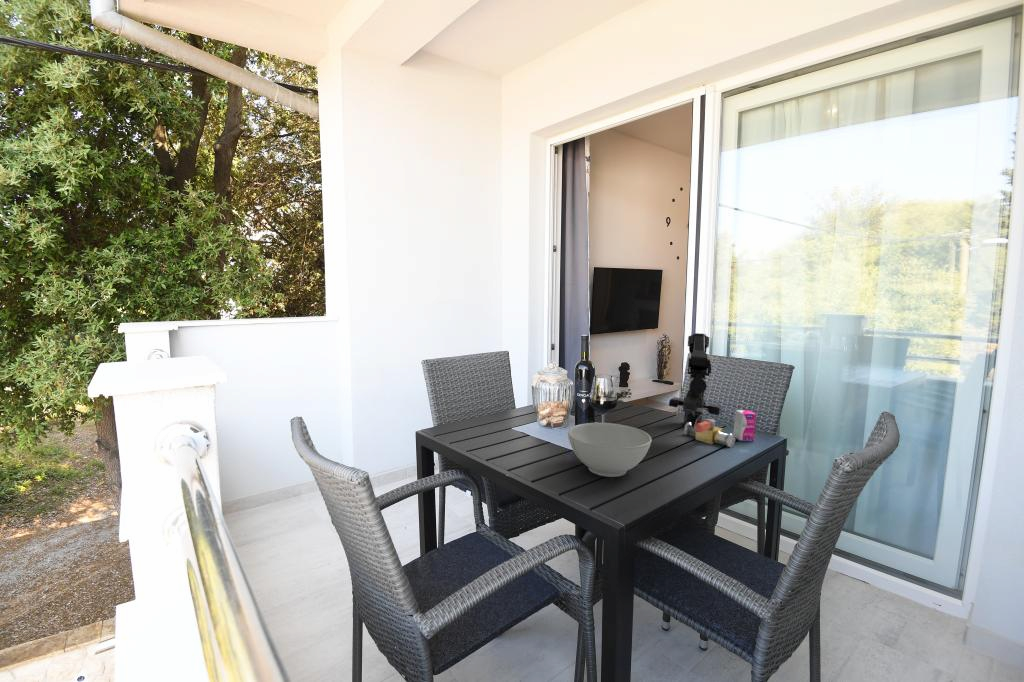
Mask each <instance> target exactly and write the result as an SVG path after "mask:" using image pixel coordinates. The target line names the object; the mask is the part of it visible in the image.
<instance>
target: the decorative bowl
mask: <svg viewBox="0 0 1024 682" xmlns="http://www.w3.org/2000/svg"><path fill="white" fill-rule="evenodd" d="M567 438H568V440H569V445H570V447H571V448H572V451H573V453H574V454H575V455H576V457H577V459H579V461H580V462H581V463H582V464H584V466H586V467H588V470H589V471H590V472H591V473H593V474H595V475H597V476H601V477H606V478H607V477H609V478H613V477H614V478H616V477H623V476H624V475H626V473H627V471H629V470H631V469H633V468H634V467H636V466H637V465H638V464H639V463H641V461H643V459H644V458H645V456H646V455H647V453H648V451H649V449H650V447H651V445H652V437H651V435H650V434H649V433H648V432H646V431H644V430H642V429H639V428H637V427H634V426H630V425H625V424H619V423H611V422H589V423H588V422H587V423H580V424H577V425H574V426H572V427H569V429H568V431H567Z"/></svg>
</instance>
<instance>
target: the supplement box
mask: <svg viewBox="0 0 1024 682" xmlns="http://www.w3.org/2000/svg"><path fill="white" fill-rule="evenodd" d="M756 420H757V414H756V413H755V412H753V411H751V410H749V409H748V410H747V409H746V410H745V409H736V410H735V415H734V425H733V433H732V434H734V435H735V440H737V441H738V442H754V439H755V430H756Z"/></svg>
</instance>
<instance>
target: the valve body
mask: <svg viewBox="0 0 1024 682" xmlns="http://www.w3.org/2000/svg"><path fill="white" fill-rule="evenodd" d="M683 430H684V433H685V434H686V435H689V436H691V435H693V436H695V440H697V441H700V442H702V443H706V444H709V445H714V444H716V445H717V444H718V445H720V444H723V445H725V446H726V447H728V448H733V446H734V445H735V443H736V438H735V435H734V434H733V433H724V432H723V428H722V427H717V426H715V428H710V429H708V430H705V431H703V432H695V426H694V427H692V425H691V422H688V423H686V425H685V424H684V429H683Z"/></svg>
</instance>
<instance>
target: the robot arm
mask: <svg viewBox="0 0 1024 682" xmlns="http://www.w3.org/2000/svg"><path fill="white" fill-rule="evenodd" d="M687 347H688V350H689V351H688V352H689V353H690V357H689V358H688V363H687V375H689V381H688V383H689V384H688V390H687V391H686V393H685V397H683V398H681V397H677V396H676V397H672V398H671V399H669V401H668V406H669V407H671V408H672V407H673V408H678V407H679V406H681V407H682V411H683V412H684V415H683V416H684V417H683V422H681V424H682V425H684V426H685V425H686V423H688V422H691V425H692V427H694V426H695V424H696V423H701V422H702V419H703V414H704V413H706V411H707V412H708V414H710V415H714V416H719V415H721V414H722V413H723V406H722V405H721V404H716V403H710V404H709V405H707V404H706V402H705V393H706V390H707V381H706V380H707V377H710V374H712V362H711V359H709V354H708V353H707V348H709V347H710V336H707V334H705V333H695V332H694V333H693V334H692V335H688V337H687ZM706 376H707V377H706Z"/></svg>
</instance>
